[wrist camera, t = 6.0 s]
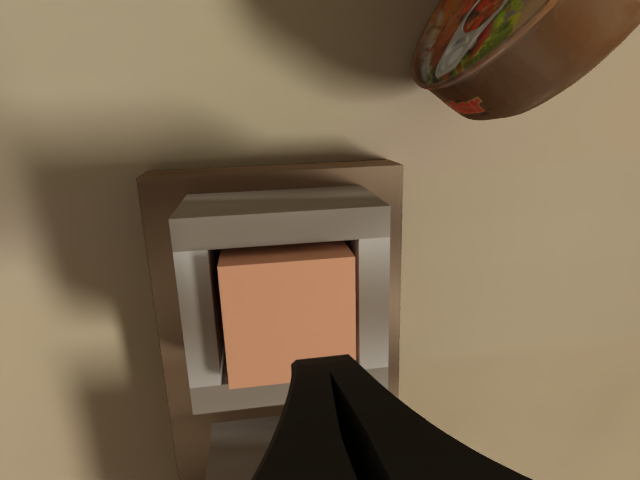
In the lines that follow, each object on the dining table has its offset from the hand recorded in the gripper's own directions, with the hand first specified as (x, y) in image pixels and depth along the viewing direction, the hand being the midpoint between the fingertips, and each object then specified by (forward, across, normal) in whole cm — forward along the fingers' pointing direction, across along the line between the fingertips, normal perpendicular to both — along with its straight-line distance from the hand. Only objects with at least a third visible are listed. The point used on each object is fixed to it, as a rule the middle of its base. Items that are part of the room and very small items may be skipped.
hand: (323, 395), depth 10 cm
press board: (+10, 0, +5) cm, 12 cm away
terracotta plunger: (+8, 0, 0) cm, 8 cm away
